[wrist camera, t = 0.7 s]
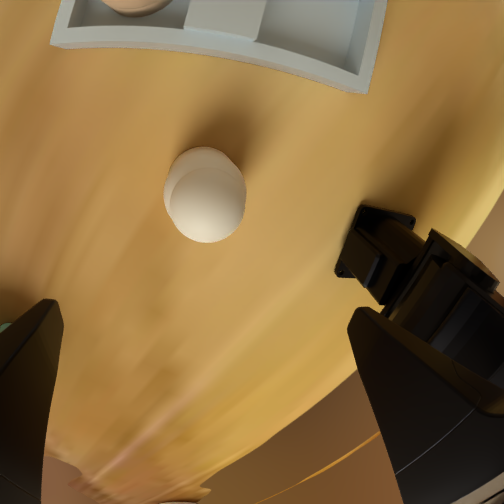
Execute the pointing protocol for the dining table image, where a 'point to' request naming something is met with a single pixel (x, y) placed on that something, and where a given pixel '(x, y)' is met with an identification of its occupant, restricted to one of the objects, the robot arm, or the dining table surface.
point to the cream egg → (205, 194)
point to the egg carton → (243, 34)
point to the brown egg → (136, 7)
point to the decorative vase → (178, 503)
